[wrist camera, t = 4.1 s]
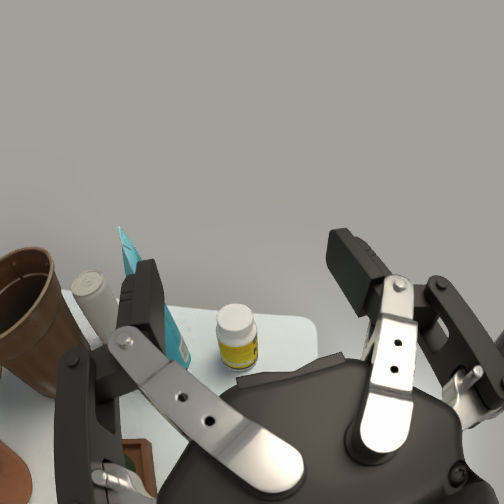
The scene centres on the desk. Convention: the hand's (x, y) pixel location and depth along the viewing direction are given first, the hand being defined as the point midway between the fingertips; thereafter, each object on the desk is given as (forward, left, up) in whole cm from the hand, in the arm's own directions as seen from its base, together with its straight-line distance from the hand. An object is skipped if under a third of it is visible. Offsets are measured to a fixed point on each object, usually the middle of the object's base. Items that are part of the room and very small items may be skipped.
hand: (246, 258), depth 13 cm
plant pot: (+21, +21, -25) cm, 39 cm away
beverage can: (+21, +10, -25) cm, 34 cm away
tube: (+14, +4, -25) cm, 29 cm away
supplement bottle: (+10, -4, -25) cm, 27 cm away
